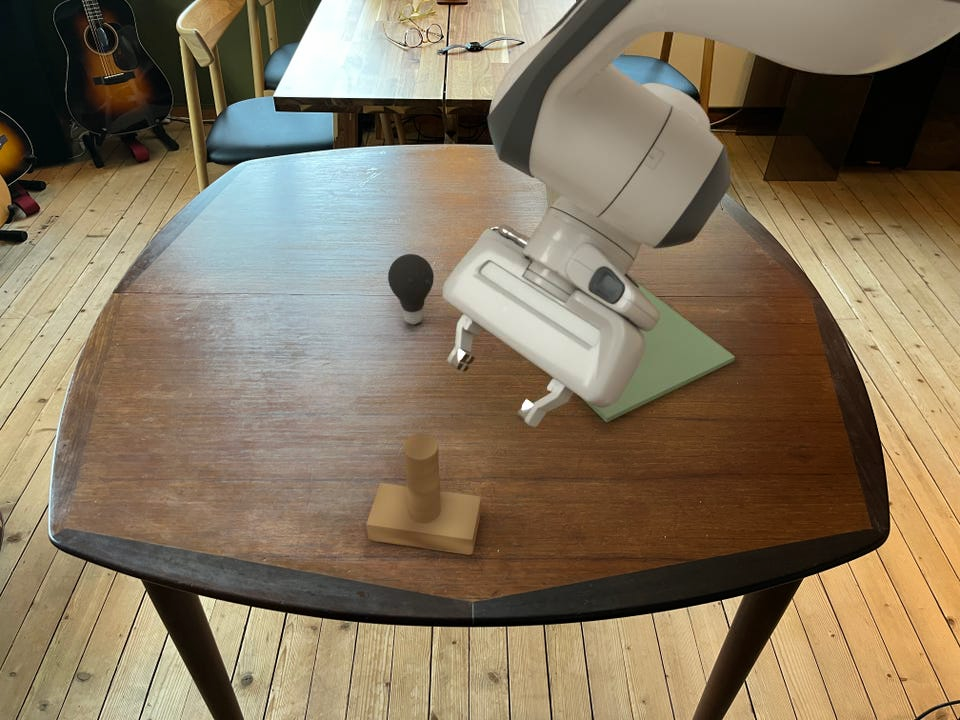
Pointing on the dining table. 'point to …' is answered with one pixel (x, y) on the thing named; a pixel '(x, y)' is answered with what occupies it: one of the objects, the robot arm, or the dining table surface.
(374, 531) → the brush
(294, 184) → the dining table surface
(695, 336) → the mat
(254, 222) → the dining table surface
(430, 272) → the light bulb
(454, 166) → the dining table surface
